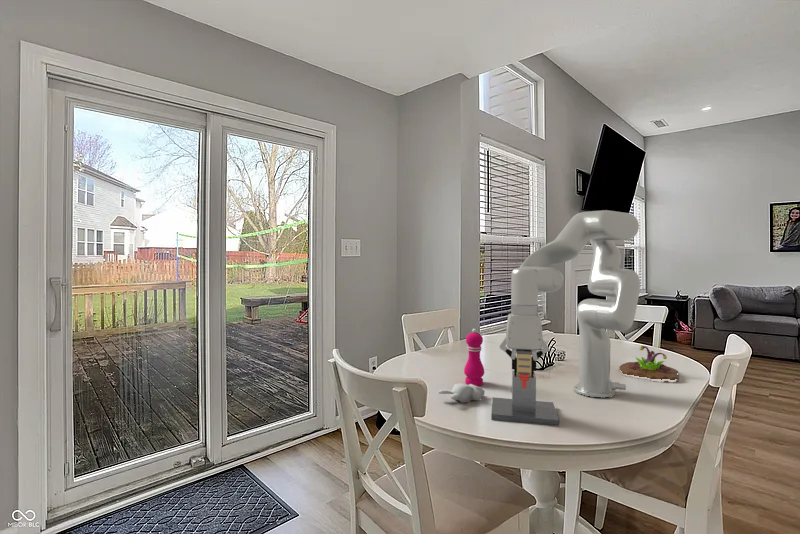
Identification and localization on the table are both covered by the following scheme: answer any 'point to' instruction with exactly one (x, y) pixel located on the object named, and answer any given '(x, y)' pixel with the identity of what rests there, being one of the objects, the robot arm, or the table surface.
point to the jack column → (524, 362)
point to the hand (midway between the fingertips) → (523, 371)
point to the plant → (649, 367)
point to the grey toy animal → (464, 392)
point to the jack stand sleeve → (524, 404)
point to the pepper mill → (474, 359)
